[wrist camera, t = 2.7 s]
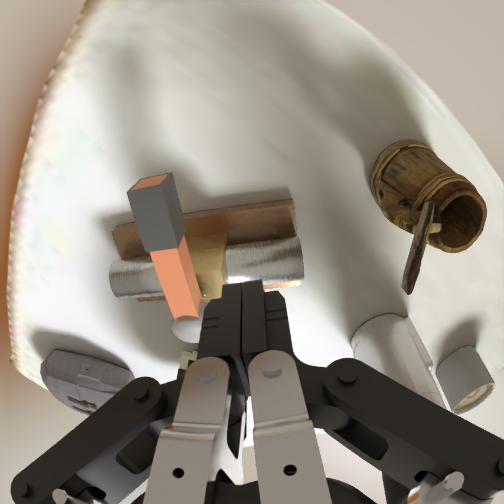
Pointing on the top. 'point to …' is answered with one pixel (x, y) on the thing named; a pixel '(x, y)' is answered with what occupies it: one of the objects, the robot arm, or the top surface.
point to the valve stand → (218, 251)
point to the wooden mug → (426, 202)
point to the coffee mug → (464, 379)
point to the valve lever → (169, 251)
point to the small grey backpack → (82, 380)
